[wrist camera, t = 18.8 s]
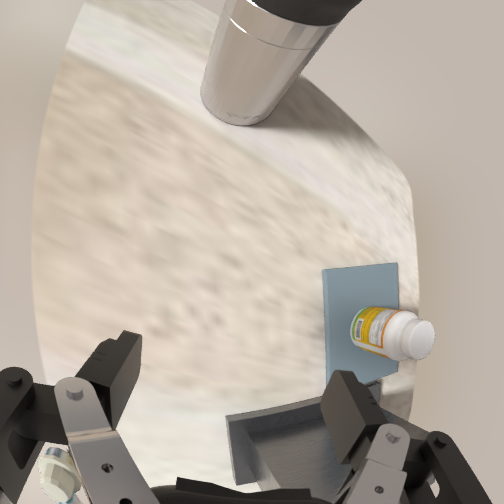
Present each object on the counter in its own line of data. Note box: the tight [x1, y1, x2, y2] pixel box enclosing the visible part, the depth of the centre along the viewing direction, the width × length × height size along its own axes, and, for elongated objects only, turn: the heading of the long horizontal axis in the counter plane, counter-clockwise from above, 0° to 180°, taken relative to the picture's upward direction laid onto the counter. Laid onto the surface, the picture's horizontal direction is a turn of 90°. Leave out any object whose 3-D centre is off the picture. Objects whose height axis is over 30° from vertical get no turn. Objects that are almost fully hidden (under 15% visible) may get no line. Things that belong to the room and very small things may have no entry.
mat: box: [322, 263, 399, 387], centre depth 35 cm, size 15×11×1 cm
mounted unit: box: [225, 380, 435, 504], centre depth 25 cm, size 10×20×16 cm, turn 94°
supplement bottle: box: [350, 306, 435, 361], centre depth 29 cm, size 5×5×10 cm
